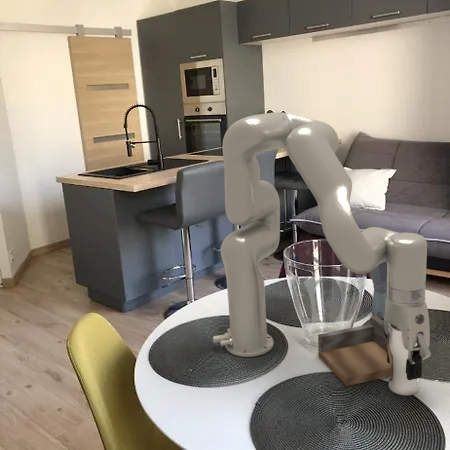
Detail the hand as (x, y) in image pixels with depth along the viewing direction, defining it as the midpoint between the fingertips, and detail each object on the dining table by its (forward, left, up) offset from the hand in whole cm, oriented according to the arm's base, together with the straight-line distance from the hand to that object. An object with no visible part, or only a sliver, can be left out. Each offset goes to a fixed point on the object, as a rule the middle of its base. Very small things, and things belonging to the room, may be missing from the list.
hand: (403, 369), depth 110 cm
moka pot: (+18, +33, -5) cm, 38 cm away
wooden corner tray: (-3, +12, -5) cm, 13 cm away
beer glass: (0, 0, -5) cm, 5 cm away
